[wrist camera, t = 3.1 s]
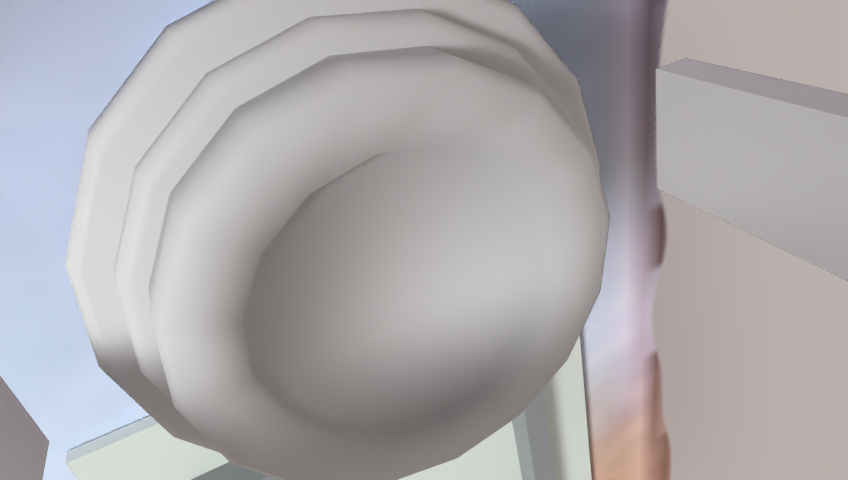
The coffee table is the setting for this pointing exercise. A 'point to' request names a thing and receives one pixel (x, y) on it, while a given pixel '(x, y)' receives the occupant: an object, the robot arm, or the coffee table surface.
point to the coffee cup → (340, 231)
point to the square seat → (465, 476)
